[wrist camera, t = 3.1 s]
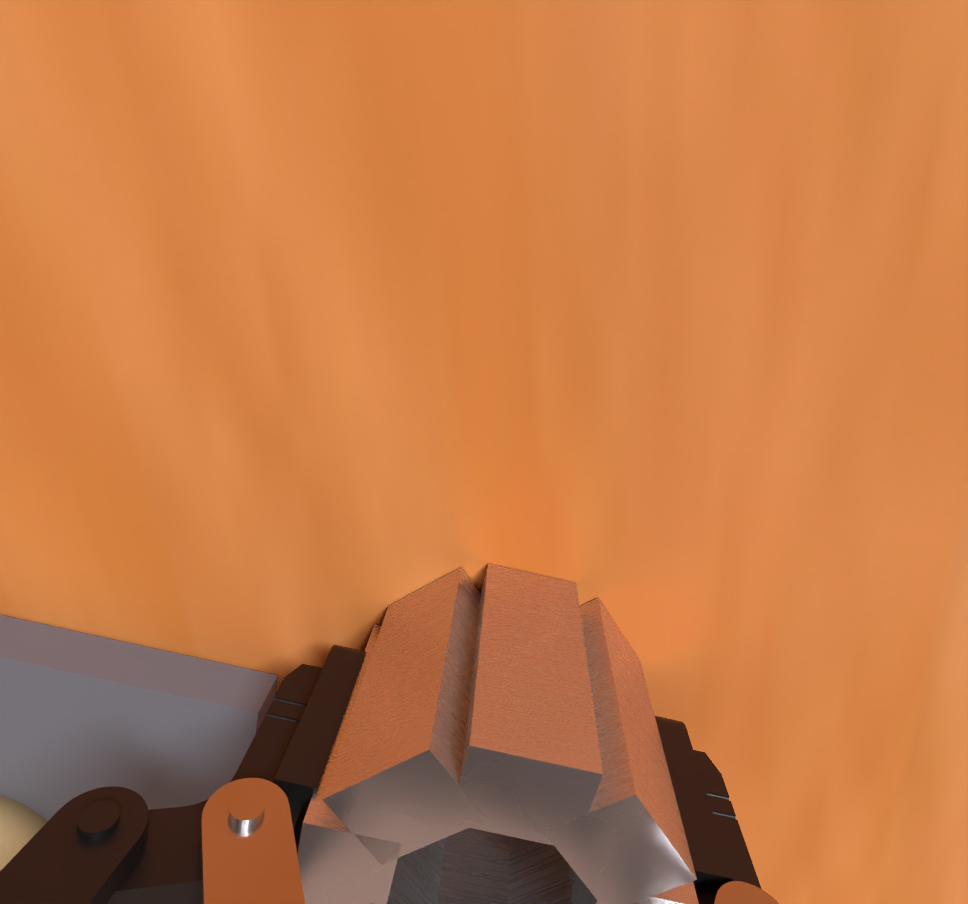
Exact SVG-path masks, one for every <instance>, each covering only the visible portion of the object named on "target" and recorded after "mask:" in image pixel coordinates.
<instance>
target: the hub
mask: <svg viewBox="0 0 968 904" xmlns="http://www.w3.org/2000/svg"><path fill="white" fill-rule="evenodd" d="M365 652H367V653H366V655H365V658H364V661H363V664H362V667H361V669H360V672H359V675H358V678H357V681H356V683H355V686H354V689H353V692H352V695H351V698H350V700H349V703H348V706H347V709H346V712H345V714H344V717H343V720H342V723H341V726H340V728H339V731H338V734H337V737H336V740H335V743H334V745H333V748H332V751H331V754H330V757H329V759H328V762H327V765H326V768H325V771H324V774H323V776H322V779H321V782H320V785H319V788H318V790H317V793H316V794H314V793H313V796H312V798H311V801H310V804H309V807H308V809H307V812H306V815H305V818H304V821H303V824H302V830H301V836H300V842H299V848H298V854H297V855H298V861H299V868H300V874H301V880H302V886H303V893H304V899H305V904H699V903H698V899H697V895H696V891H695V887H694V883H693V881H695V880H697V878H696V874H695V870H694V866H693V862H692V859H691V855H690V851H689V847H688V843H687V839H686V835H685V831H684V828H683V824H682V820H681V816H680V812H679V808H678V804H677V801H676V797H675V793H674V789H673V785H672V781H671V777H670V773H669V770H668V766H667V762H666V758H665V754H664V750H663V746H662V742H661V739H660V735H659V731H658V727H657V723H656V719H655V715H654V712H653V708H652V704H651V700H650V696H649V692H648V688H647V684H646V681H645V677H644V673H643V669H642V665H641V662H640V660H639V659H638V657H637V656H636V654H635V653H634V651H633V650H632V648H631V647H630V645H629V644H628V642H627V641H626V639H625V638H624V636H623V634H622V633H621V631H620V630H619V628H618V627H617V625H616V624H615V622H614V621H613V619H612V618H611V616H610V615H609V613H608V612H607V610H606V609H605V607H604V606H603V604H602V603H601V601H600V600H599V598H596V599H594V600H592V601H590V602H588V603H586V604H584V605H582V606H579V599H578V592H577V585H576V583H573V582H569V581H564V580H560V579H555V578H551V577H546V576H542V575H537V574H533V573H528V572H524V571H519V570H515V569H510V568H506V567H501V566H497V565H492V564H488V566H487V570H486V574H485V578H484V582H483V586H482V590H481V594H480V592H479V591H478V590H477V588H476V587H475V586H474V584H473V583H472V581H471V580H470V579H469V577H468V576H467V575H466V573H465V572H464V570H463V569H462V568H461V567H460V568H458V569H457V570H455V571H453V572H451V573H449V574H447V575H445V576H444V577H442V578H440V579H438V580H436V581H434V582H432V583H430V584H429V585H427V586H425V587H423V588H421V589H419V590H417V591H416V592H414V593H412V594H410V595H408V596H406V597H404V598H403V599H401V600H399V601H397V602H395V603H393V604H391V605H390V606H388V608H387V611H386V614H385V617H384V620H383V623H382V626H380V625H376V624H374V627H373V629H372V632H371V635H370V638H369V641H368V643H367V646H366V649H365Z"/></svg>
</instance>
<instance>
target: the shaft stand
mask: <svg viewBox="0 0 968 904" xmlns="http://www.w3.org/2000/svg"><path fill="white" fill-rule="evenodd" d="M277 679H278V675H274V674H269V673H265V672H260V671H256V670H251V669H246V668H242V667H237V666H233V665H228V664H224V663H219V662H214V661H210V660H205V659H201V658H196V657H192V656H187V655H182V654H178V653H173V652H169V651H164V650H160V649H155V648H150V647H146V646H141V645H137V644H132V643H128V642H123V641H118V640H114V639H109V638H105V637H100V636H96V635H91V634H86V633H82V632H77V631H73V630H68V629H64V628H59V627H54V626H50V625H45V624H41V623H36V622H32V621H27V620H22V619H18V618H13V617H9V616H4V615H0V871H1V870H2V869H3V868H4V867H5V866H6V865H7V864H8V863H9V862H10V860H11V859H12V858H13V857H14V856H15V855H16V854H17V853H18V852H19V851H20V850H21V849H22V848H23V847H24V846H25V845H26V844H27V843H28V842H29V841H30V840H31V839H32V837H33V836H34V835H35V834H36V833H37V832H38V831H39V830H40V829H41V828H42V827H43V826H44V825H45V824H46V823H47V822H48V821H49V820H50V819H51V818H52V817H53V816H54V814H55V813H56V812H57V811H58V810H59V809H60V808H61V807H63V806H64V805H65V804H66V803H67V802H69V801H70V800H72V799H73V798H75V797H77V796H78V795H80V794H82V793H85V792H87V791H90V790H93V789H96V788H101V787H111V786H116V787H124V788H128V789H131V790H133V791H135V792H137V793H138V794H139V795H141V797H142V798H143V799H144V800H145V802H146V804H147V807H148V810H151V809H162V808H174V807H183V806H190V805H193V804H197V803H200V802H202V801H205V800H207V799H209V798H210V797H211V796H212V795H213V794H214V793H215V792H216V791H217V790H218V789H219V788H221V787H222V786H224V785H226V784H228V783H230V781H231V780H232V779H233V777H234V775H235V774H236V772H237V770H238V768H239V766H240V764H241V762H242V760H243V758H244V756H245V754H246V752H247V750H248V748H249V746H250V744H251V742H252V740H253V738H254V736H255V735H256V733H257V731H258V729H259V727H260V725H261V723H262V721H263V719H264V717H266V713H267V711H268V709H269V707H270V705H271V703H272V701H274V698H275V694H276V687H277Z"/></svg>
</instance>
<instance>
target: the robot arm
mask: <svg viewBox="0 0 968 904" xmlns="http://www.w3.org/2000/svg"><path fill="white" fill-rule="evenodd" d="M366 653H367V652H365V651H361V650H356V649H352V648H347V647H342V646H338V645H333V647H332V649H331V651H330V653H329V655H328V658H327V660H326V662H325V665H324V667H323V668H320V667H315V666H311V665H306V664H302V665H300V666H299V667H298V668H297V669H295V670H294V671H293V672H292V673H290V674H289V675H288V676H286V677H285V678H284V680H283V682H282V684H281V686H280V688H279V690H278V692H277V693H276V695H275V698H274V701H272V703H271V705H270V707H269V709H268V711H267V713H266V717H264V719H263V721H262V723H261V725H260V727H259V729H258V731H257V733H256V735H255V736H254V738H253V740H252V742H251V744H250V746H249V748H248V750H247V752H246V754H245V756H244V758H243V760H242V762H241V764H240V766H239V768H238V770H237V772H236V774H235V775H234V777H233V779H232V780H231V781H230V783H228V784H226V785H224V786H222V787H221V788H219V789H218V790H217V791H216V792H215V793H214V794H213V795H212V796H211V797H210V798H209V799H207V800H205V801H202V802H200V803H197V804H193V805H190V806H183V807H174V808H162V809H151V810H148V807H147V804H146V802H145V800H144V799H143V798H142V797H141V795H139V794H138V793H137V792H135V791H133V790H131V789H128V788H124V787H116V786H111V787H101V788H96V789H93V790H90V791H87V792H85V793H82V794H80V795H78V796H77V797H75V798H73V799H72V800H70V801H69V802H67V803H66V804H65V805H64V806H63V807H61V808H60V809H59V810H58V811H57V812H56V813H55V814H54V816H53V817H52V818H51V819H50V820H49V821H48V822H47V823H46V824H45V825H44V826H43V827H42V828H41V829H40V830H39V831H38V832H37V833H36V834H35V835H34V836H33V837H32V839H31V840H30V841H29V842H28V843H27V844H26V845H25V846H24V847H23V848H22V849H21V850H20V851H19V852H18V853H17V854H16V855H15V856H14V857H13V858H12V859H11V860H10V862H9V863H8V864H7V865H6V866H5V867H4V868H3V869H2V870H1V871H0V904H305V899H304V893H303V886H302V880H301V874H300V868H299V861H298V855H297V854H298V848H299V842H300V836H301V830H302V824H303V821H304V818H305V815H306V812H307V809H308V807H309V804H310V801H311V798H312V796H313V793H314V794H316V793H317V790H318V788H319V785H320V782H321V779H322V776H323V774H324V771H325V768H326V765H327V762H328V759H329V757H330V754H331V751H332V748H333V745H334V743H335V740H336V737H337V734H338V731H339V728H340V726H341V723H342V720H343V717H344V714H345V712H346V709H347V706H348V703H349V700H350V698H351V695H352V692H353V689H354V686H355V683H356V681H357V678H358V675H359V672H360V669H361V667H362V664H363V661H364V658H365V655H366ZM655 719H656V723H657V727H658V731H659V735H660V739H661V742H662V746H663V750H664V754H665V758H666V762H667V766H668V770H669V773H670V777H671V781H672V785H673V789H674V793H675V797H676V801H677V804H678V808H679V812H680V816H681V820H682V824H683V828H684V831H685V835H686V839H687V843H688V847H689V851H690V855H691V859H692V862H693V866H694V870H695V874H696V878H697V880H695V881H693V883H694V887H695V891H696V895H697V899H698V903H699V904H779V903H778V902H777V901H776V900H775V899H774V898H773V897H771V896H770V895H769V894H768V893H766V892H765V891H763V890H762V889H761V887H760V884H759V881H758V878H757V875H756V872H755V869H754V866H753V864H752V861H751V858H750V855H749V852H748V849H747V846H746V844H745V841H744V838H743V835H742V832H741V829H740V826H739V824H738V821H737V820H735V816H736V815H735V812H734V809H733V806H732V804H731V801H729V795H728V792H727V789H726V786H725V783H724V781H723V778H722V775H721V773H720V772H719V771H718V769H717V768H716V767H715V765H714V764H713V763H712V761H711V760H710V759H709V757H708V756H707V755H706V753H705V752H700V751H695V750H693V748H692V745H691V742H690V739H689V735H688V732H687V729H686V726H685V725H684V723H683V722H680V721H676V720H671V719H667V718H662V717H658V716H655Z"/></svg>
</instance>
